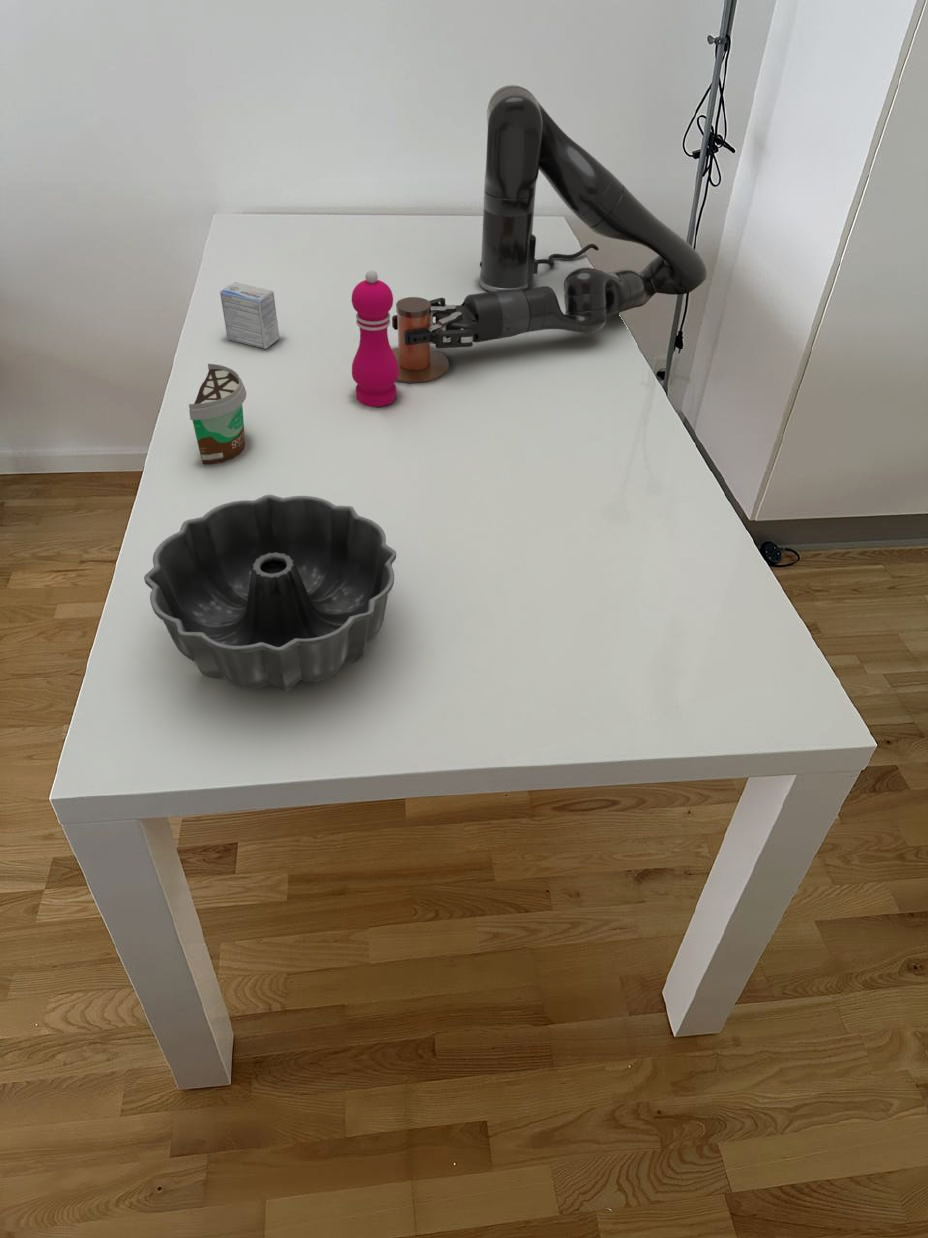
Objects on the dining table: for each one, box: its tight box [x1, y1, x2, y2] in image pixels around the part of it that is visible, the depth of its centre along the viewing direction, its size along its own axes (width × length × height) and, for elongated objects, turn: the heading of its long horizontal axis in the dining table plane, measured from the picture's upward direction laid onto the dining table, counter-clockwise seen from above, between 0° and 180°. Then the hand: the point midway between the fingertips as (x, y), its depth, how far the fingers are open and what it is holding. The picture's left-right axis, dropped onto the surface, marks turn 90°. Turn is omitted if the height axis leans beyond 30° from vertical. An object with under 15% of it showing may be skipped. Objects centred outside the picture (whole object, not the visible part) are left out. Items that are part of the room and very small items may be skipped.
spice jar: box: [395, 296, 431, 370], centre depth 149 cm, size 6×6×10 cm
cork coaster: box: [391, 347, 450, 384], centre depth 152 cm, size 12×12×1 cm
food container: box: [188, 363, 247, 465], centre depth 129 cm, size 12×6×10 cm, turn 179°
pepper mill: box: [351, 269, 399, 408], centre depth 138 cm, size 7×7×20 cm
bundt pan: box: [143, 494, 397, 692], centre depth 102 cm, size 26×26×10 cm
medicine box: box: [219, 281, 280, 350], centre depth 154 cm, size 8×4×9 cm, turn 65°
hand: (398, 330), depth 147 cm, fingers closed on spice jar, 5 cm apart
